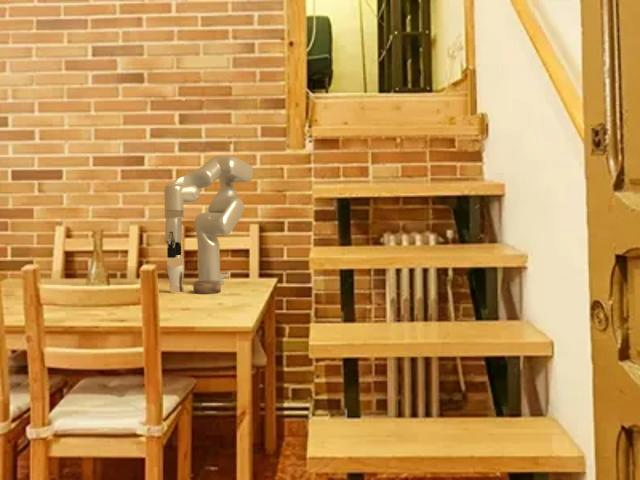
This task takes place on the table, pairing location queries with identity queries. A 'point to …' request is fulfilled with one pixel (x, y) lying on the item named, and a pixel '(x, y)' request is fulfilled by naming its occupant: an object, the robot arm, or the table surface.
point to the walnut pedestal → (206, 287)
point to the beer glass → (176, 273)
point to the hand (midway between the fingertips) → (174, 256)
